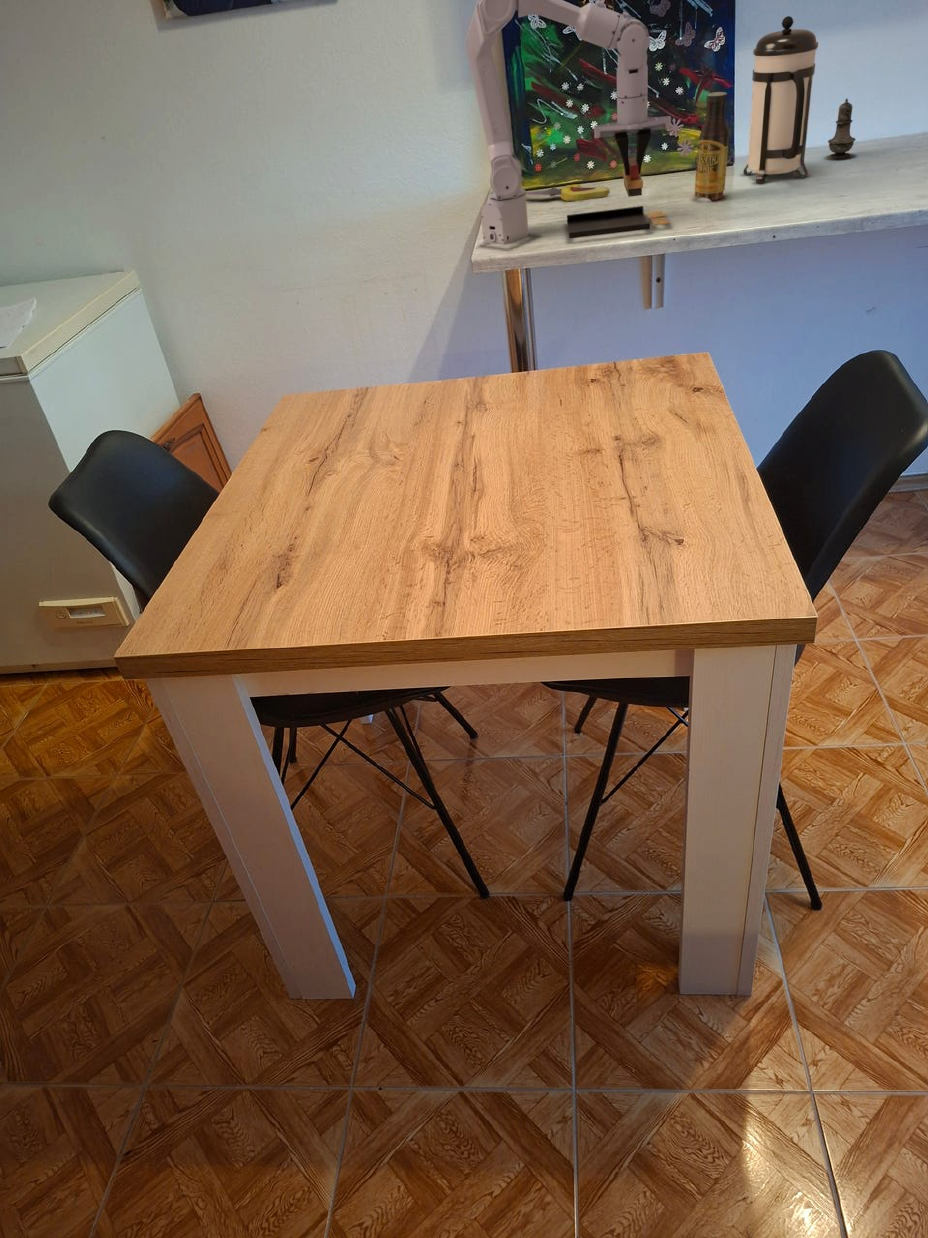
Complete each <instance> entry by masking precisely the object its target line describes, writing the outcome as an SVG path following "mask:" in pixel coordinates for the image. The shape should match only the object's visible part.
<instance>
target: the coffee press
mask: <svg viewBox="0 0 928 1238" xmlns="http://www.w3.org/2000/svg"><path fill="white" fill-rule="evenodd" d="M793 24H794V19H793V18H792V16H790V15H787V16H786V17H785V16H784V18H783V19H782V21H781V26H782V28H783V29H782V30H779V31H774V32H770V33H768V34H765V35H764V36H762V37H761V38H760V39H758V41H757V43H756V45H755V48H753V51H752V54H753V57H754V67H753V69H752V79H751V80H752V93H751V95H752V96H751V112H750V125H749V140H748V141H749V142H748V154H747V155H748V156H747V157H748V158H747V165H746V166H745V167H744V169H743V171H742V173H743V175H744V176H749V175H750V174H752V173H754V174H757V175H756V178H755V183H756V184H762V185H763V184H764V183H765V181H766V179H767V177H768V176H769V175H779V174H780V175H781V174H787V173H795V174H796V175H797V176H798V177H799V178H800V179H803V178H805V177H807V176H808V174H809V170H808V168H807V166H806V164H805V155H806V149H807V139H808V130H809V129H808V128H809V119H810V118H809V117H810V110H811V100H812V88H813V79H814V75H815V72H816V71H815V70H816V62H815V60H816V51H817V50H818V47H819V42H818V41H817V37H816V35H815V33H814V32H812V31H811V30H808V29H801V28H800V29H798V28H797V29H796V28H795V29H792V28H791V27H793ZM800 168H801V169H802V171H803V173H804V175H803V173H802V172H801V171H800V170H799V169H800ZM748 170H750V171H749V172H748Z"/></svg>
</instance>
